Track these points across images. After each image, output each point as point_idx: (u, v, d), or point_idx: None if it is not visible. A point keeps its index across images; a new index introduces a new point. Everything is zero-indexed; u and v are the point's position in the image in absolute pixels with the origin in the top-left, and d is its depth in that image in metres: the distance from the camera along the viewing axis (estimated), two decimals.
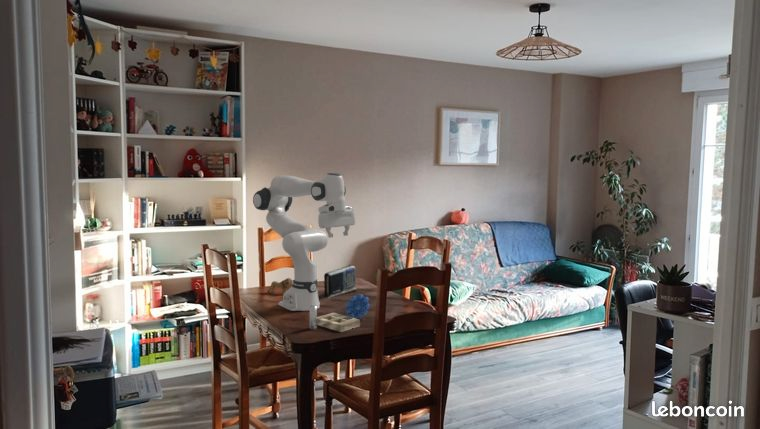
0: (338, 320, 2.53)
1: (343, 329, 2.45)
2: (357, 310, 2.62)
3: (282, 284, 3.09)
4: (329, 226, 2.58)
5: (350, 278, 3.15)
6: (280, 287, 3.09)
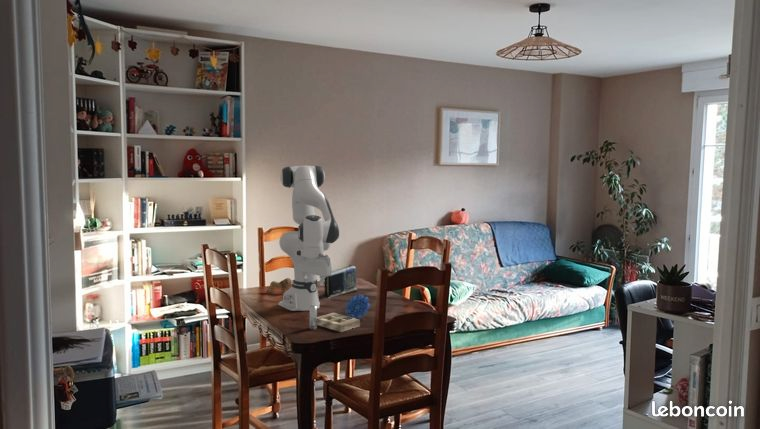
0: (338, 320, 2.53)
1: (343, 329, 2.45)
2: (357, 310, 2.62)
3: (281, 284, 3.09)
4: (300, 270, 2.49)
5: (350, 278, 3.15)
6: (279, 287, 3.10)
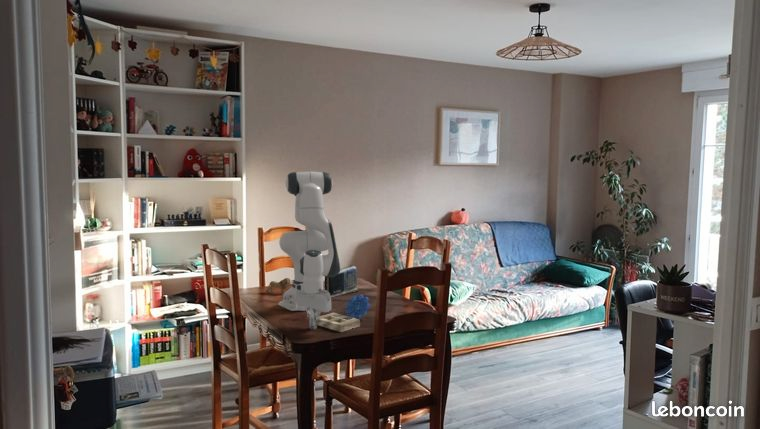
0: (338, 320, 2.53)
1: (343, 329, 2.45)
2: (357, 310, 2.62)
3: (281, 284, 3.09)
4: (300, 304, 2.51)
5: (351, 279, 3.14)
6: (279, 287, 3.10)
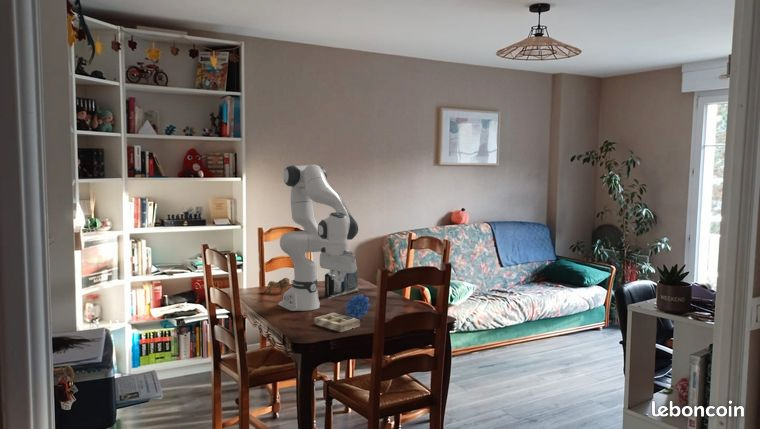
0: (338, 320, 2.53)
1: (343, 329, 2.45)
2: (357, 310, 2.62)
3: (280, 284, 3.09)
4: (324, 267, 2.50)
5: (352, 279, 3.13)
6: (277, 287, 3.10)
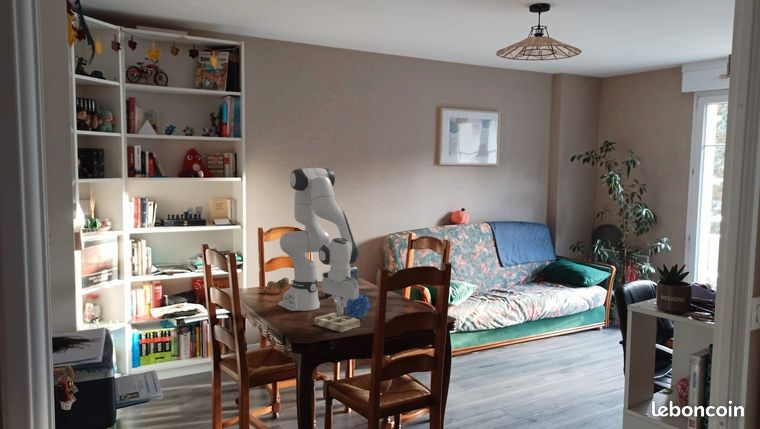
0: (338, 320, 2.53)
1: (343, 329, 2.45)
2: (357, 310, 2.62)
3: (279, 284, 3.10)
4: (327, 292, 2.52)
5: None
6: (277, 287, 3.10)
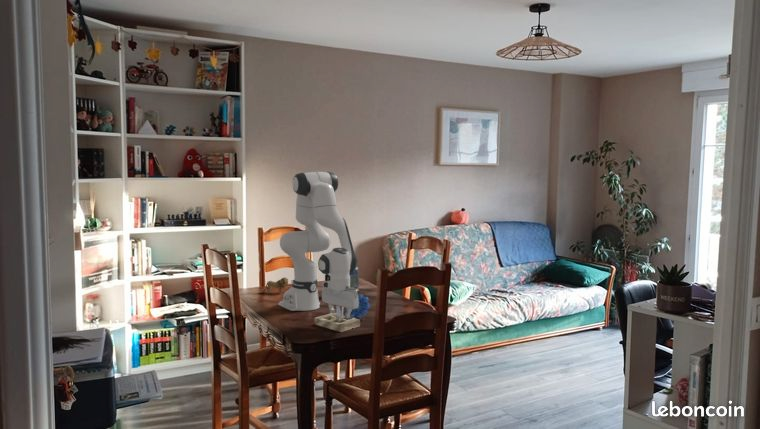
0: None
1: (343, 329, 2.45)
2: (357, 310, 2.62)
3: (278, 283, 3.10)
4: (327, 301, 2.52)
5: (352, 279, 3.12)
6: (276, 286, 3.11)
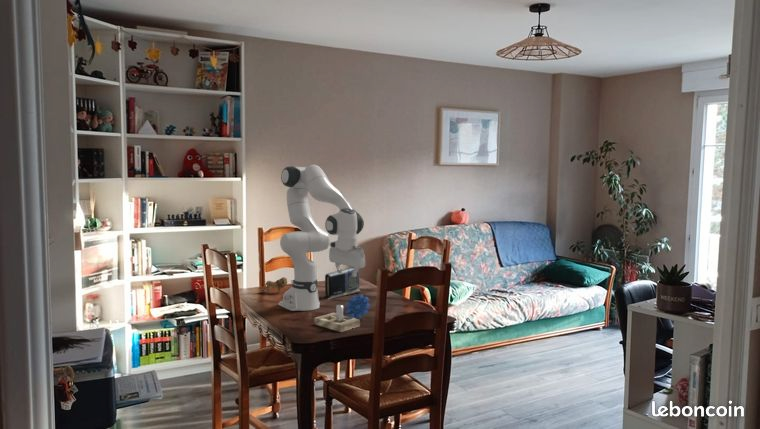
0: None
1: (343, 329, 2.45)
2: (357, 310, 2.62)
3: (277, 283, 3.10)
4: (334, 261, 2.58)
5: (353, 280, 3.11)
6: (275, 286, 3.11)
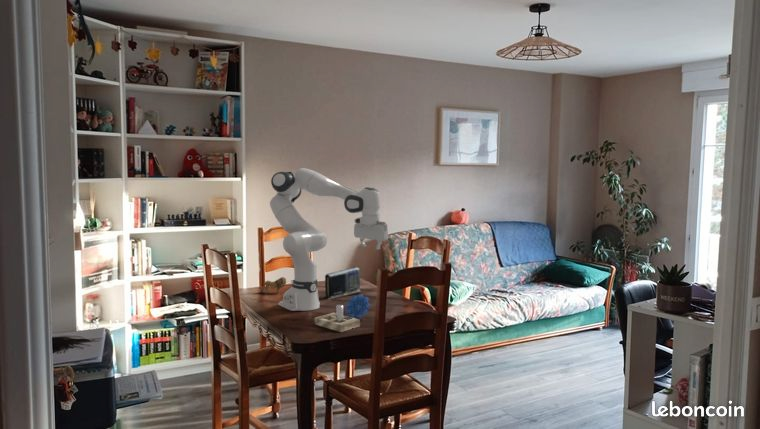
0: None
1: (343, 329, 2.45)
2: (357, 310, 2.62)
3: (276, 283, 3.10)
4: (358, 236, 2.81)
5: (353, 280, 3.10)
6: (274, 286, 3.11)
